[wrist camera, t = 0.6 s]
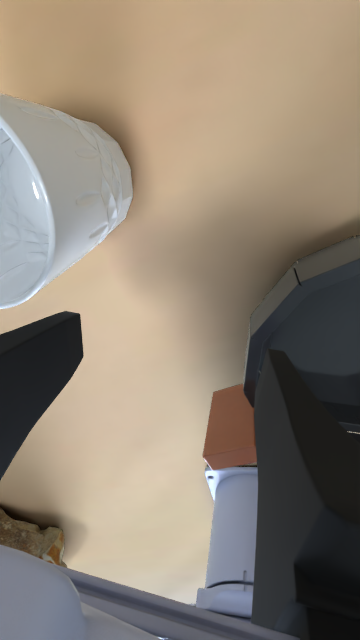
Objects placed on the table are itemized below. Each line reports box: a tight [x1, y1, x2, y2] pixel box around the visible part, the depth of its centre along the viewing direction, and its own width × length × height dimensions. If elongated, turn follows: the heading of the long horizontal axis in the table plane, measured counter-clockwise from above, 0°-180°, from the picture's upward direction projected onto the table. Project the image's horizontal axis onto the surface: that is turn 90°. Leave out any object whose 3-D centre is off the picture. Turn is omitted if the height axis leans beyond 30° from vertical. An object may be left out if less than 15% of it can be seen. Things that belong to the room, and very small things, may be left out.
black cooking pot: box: [203, 235, 360, 470], centre depth 17 cm, size 16×13×8 cm
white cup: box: [0, 93, 133, 309], centre depth 15 cm, size 8×8×10 cm
